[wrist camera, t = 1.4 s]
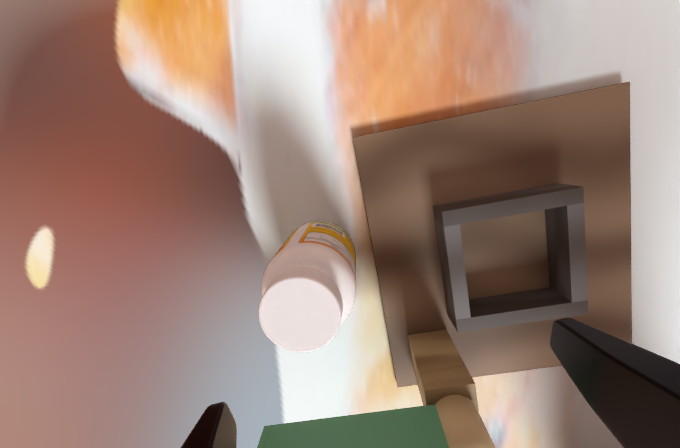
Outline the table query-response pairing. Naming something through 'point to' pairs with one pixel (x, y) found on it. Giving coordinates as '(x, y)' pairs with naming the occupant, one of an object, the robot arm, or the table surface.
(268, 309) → the supplement bottle
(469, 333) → the bottle stand
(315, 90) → the table surface
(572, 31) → the table surface
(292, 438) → the keeper arm
